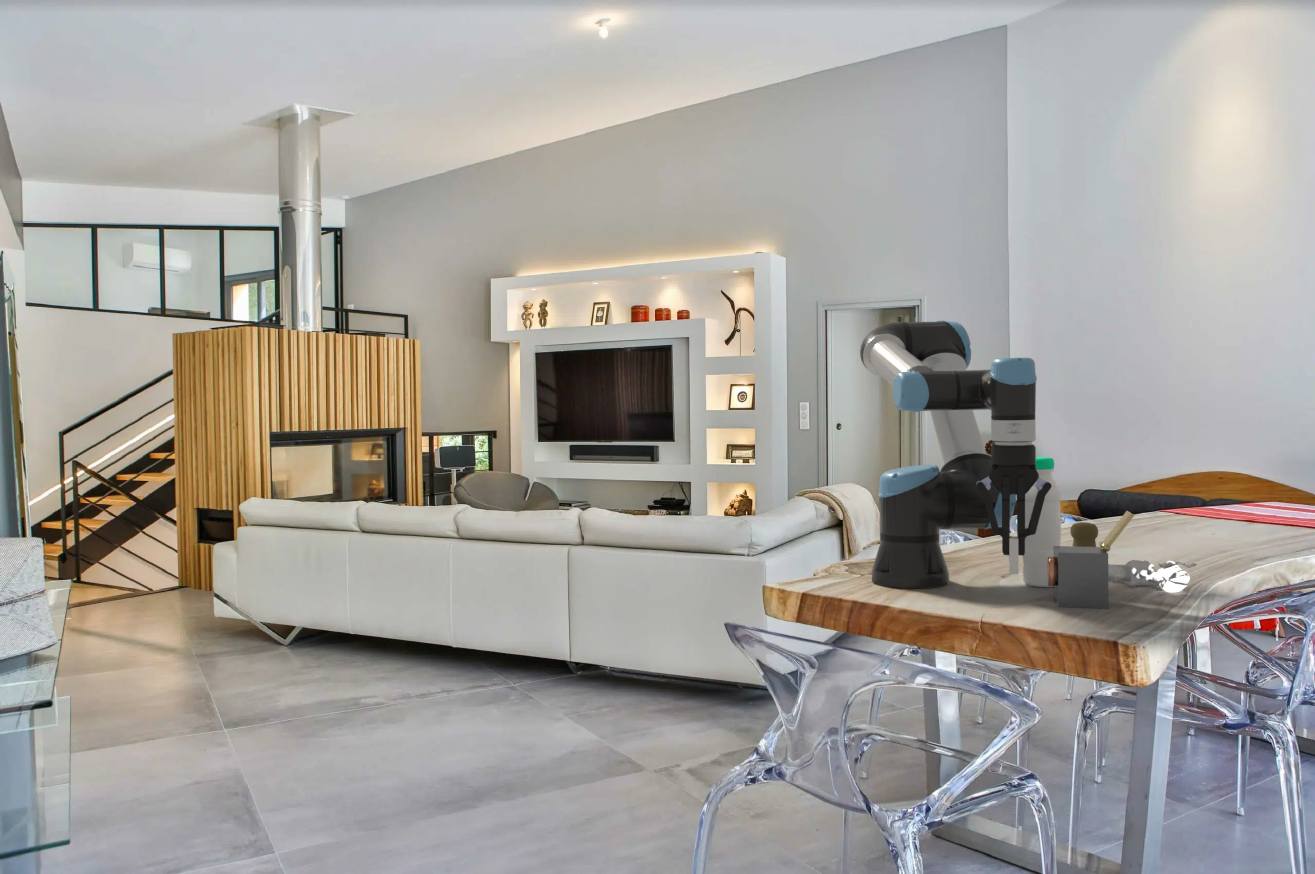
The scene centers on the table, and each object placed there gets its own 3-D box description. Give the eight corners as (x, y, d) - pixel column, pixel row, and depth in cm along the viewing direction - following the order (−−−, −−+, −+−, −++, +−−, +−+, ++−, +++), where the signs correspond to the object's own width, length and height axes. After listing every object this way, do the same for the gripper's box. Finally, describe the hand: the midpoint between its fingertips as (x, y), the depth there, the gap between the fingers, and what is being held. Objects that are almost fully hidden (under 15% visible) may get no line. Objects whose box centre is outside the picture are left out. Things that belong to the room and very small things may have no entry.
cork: (1104, 579, 192) (1103, 524, 191) (1072, 578, 193) (1071, 524, 193) (1096, 573, 198) (1096, 521, 197) (1065, 573, 199) (1065, 520, 199)
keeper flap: (1107, 552, 166) (1101, 548, 166) (1103, 549, 170) (1097, 545, 171) (1136, 516, 165) (1129, 512, 165) (1131, 513, 169) (1125, 509, 169)
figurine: (1147, 560, 188) (1202, 557, 177) (1151, 592, 187) (1206, 591, 176) (1112, 560, 185) (1165, 557, 174) (1115, 593, 184) (1169, 593, 173)
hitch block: (1058, 606, 167) (1058, 552, 167) (1054, 597, 175) (1053, 545, 175) (1108, 608, 165) (1108, 553, 165) (1101, 599, 172) (1101, 546, 172)
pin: (1049, 588, 169) (1049, 559, 169) (1047, 583, 174) (1046, 554, 174) (1132, 591, 165) (1131, 561, 165) (1126, 585, 170) (1126, 556, 170)
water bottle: (1044, 589, 183) (1042, 458, 182) (1014, 583, 189) (1013, 457, 188) (1069, 585, 186) (1068, 457, 185) (1039, 580, 192) (1038, 456, 192)
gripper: (975, 444, 171) (976, 575, 172) (1054, 444, 167) (1054, 578, 168) (974, 442, 178) (975, 567, 179) (1050, 442, 174) (1050, 570, 175)
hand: (1013, 572), depth 174 cm, fingers closed
